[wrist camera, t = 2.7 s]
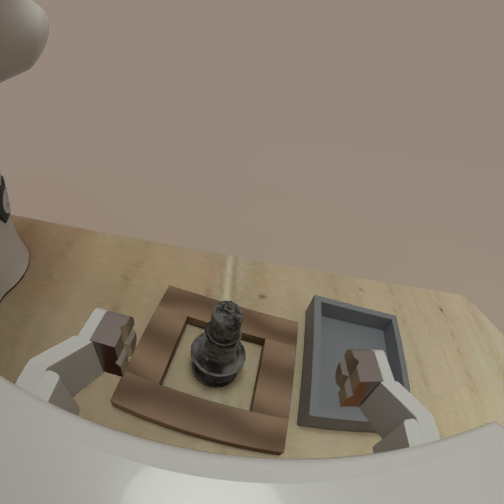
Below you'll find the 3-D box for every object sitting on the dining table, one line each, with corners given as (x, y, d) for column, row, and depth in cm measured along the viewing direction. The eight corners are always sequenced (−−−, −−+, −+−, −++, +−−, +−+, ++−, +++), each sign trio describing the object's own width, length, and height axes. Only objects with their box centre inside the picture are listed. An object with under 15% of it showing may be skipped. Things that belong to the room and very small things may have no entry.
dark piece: (229, 342, 34) (249, 273, 27) (247, 382, 30) (276, 322, 23) (183, 351, 31) (188, 280, 24) (198, 394, 27) (208, 336, 20)
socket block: (279, 455, 23) (283, 452, 22) (113, 405, 23) (110, 400, 23) (294, 329, 38) (298, 322, 37) (169, 292, 38) (169, 285, 37)
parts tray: (397, 432, 27) (413, 422, 24) (297, 424, 27) (309, 415, 24) (384, 329, 41) (395, 315, 39) (306, 310, 41) (314, 294, 39)
